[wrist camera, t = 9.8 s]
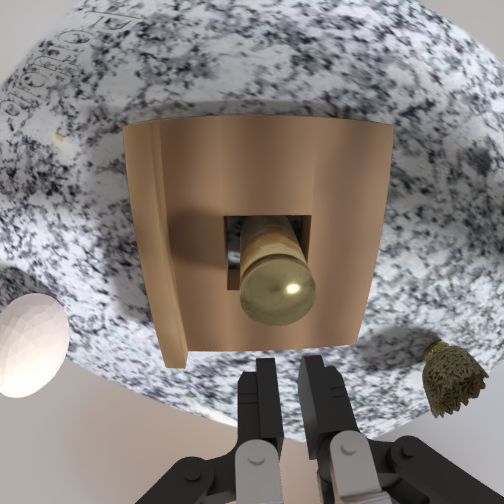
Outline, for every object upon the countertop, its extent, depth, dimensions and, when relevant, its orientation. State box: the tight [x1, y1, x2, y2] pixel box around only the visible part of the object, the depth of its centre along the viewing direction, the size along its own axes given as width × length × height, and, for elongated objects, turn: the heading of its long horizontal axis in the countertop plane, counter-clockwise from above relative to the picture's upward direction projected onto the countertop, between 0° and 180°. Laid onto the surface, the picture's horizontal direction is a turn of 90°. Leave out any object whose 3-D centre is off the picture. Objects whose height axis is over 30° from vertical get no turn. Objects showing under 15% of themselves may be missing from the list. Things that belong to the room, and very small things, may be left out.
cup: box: [422, 341, 489, 418], centre depth 27 cm, size 8×7×8 cm
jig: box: [123, 114, 394, 369], centre depth 21 cm, size 16×18×5 cm
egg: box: [0, 293, 70, 398], centre depth 21 cm, size 7×7×12 cm
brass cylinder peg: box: [239, 215, 317, 326], centre depth 20 cm, size 4×4×8 cm
